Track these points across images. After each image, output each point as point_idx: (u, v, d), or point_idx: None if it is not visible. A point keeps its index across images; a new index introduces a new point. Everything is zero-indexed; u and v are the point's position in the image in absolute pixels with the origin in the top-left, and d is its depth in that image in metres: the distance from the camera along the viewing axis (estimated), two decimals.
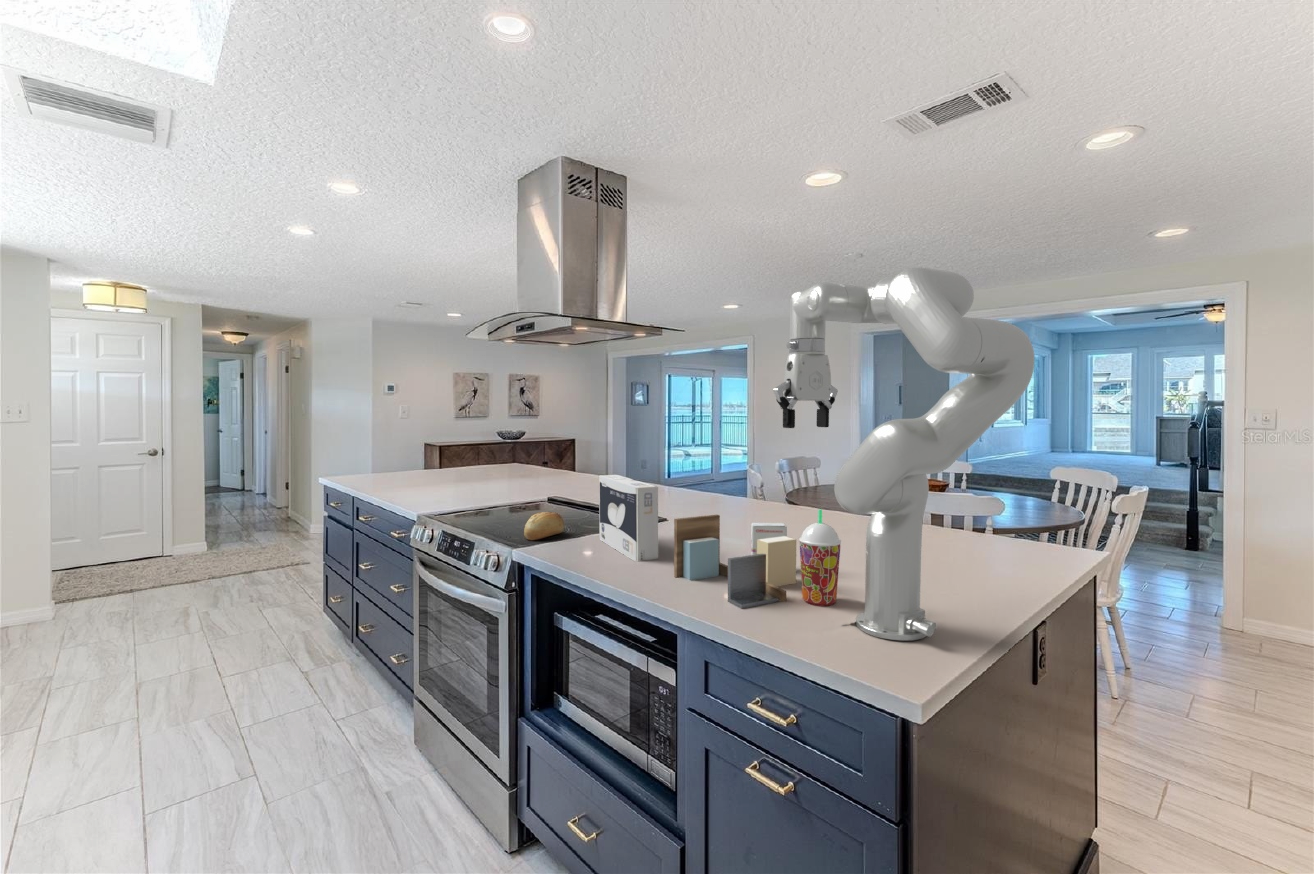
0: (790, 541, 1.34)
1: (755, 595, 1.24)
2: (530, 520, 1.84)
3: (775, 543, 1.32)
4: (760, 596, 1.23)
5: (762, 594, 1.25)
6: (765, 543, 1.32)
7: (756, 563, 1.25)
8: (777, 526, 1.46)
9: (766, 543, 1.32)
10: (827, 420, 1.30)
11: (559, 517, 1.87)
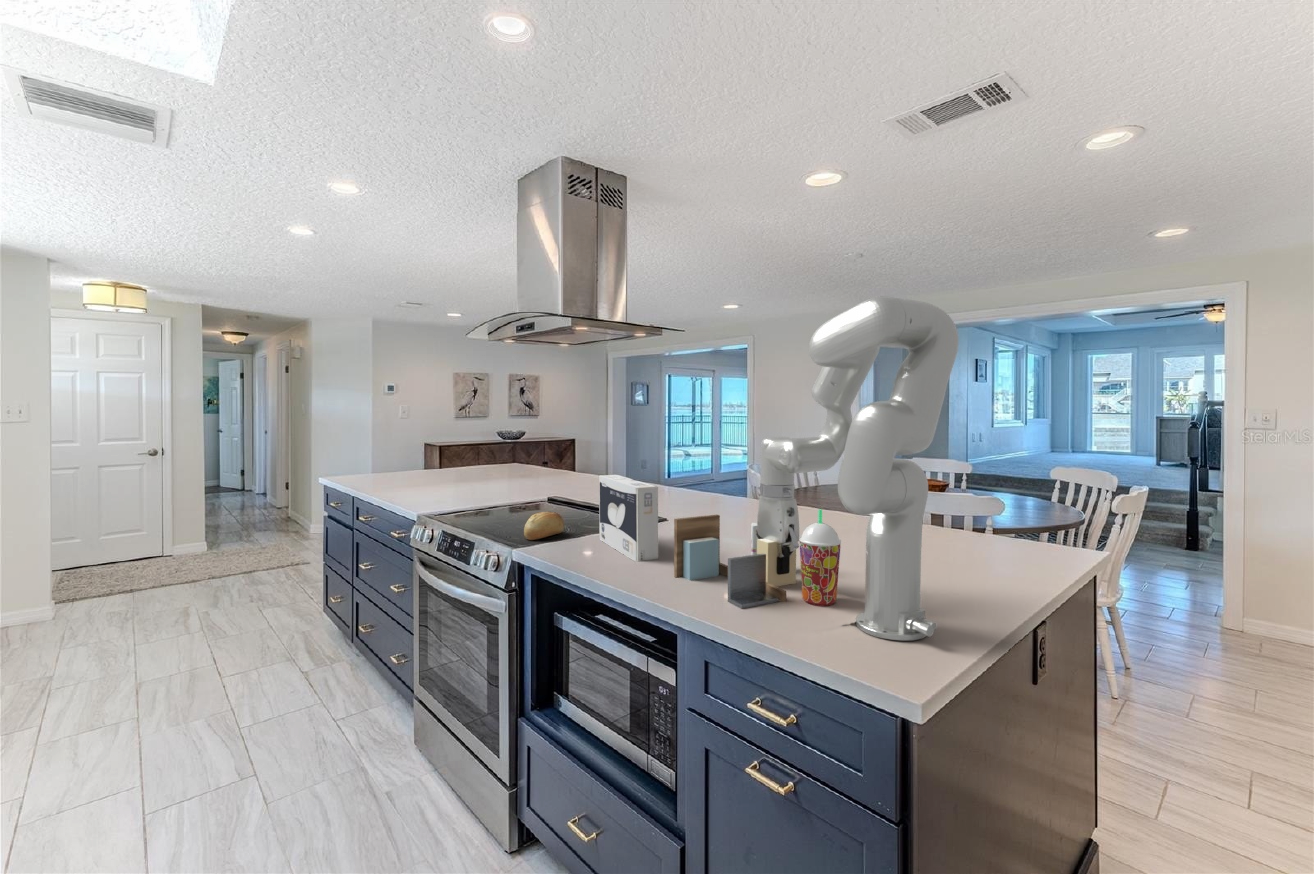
0: None
1: (755, 595, 1.24)
2: (530, 520, 1.84)
3: (775, 543, 1.32)
4: (760, 596, 1.23)
5: (762, 594, 1.25)
6: (765, 543, 1.32)
7: (756, 563, 1.25)
8: None
9: (766, 543, 1.32)
10: None
11: (559, 517, 1.87)
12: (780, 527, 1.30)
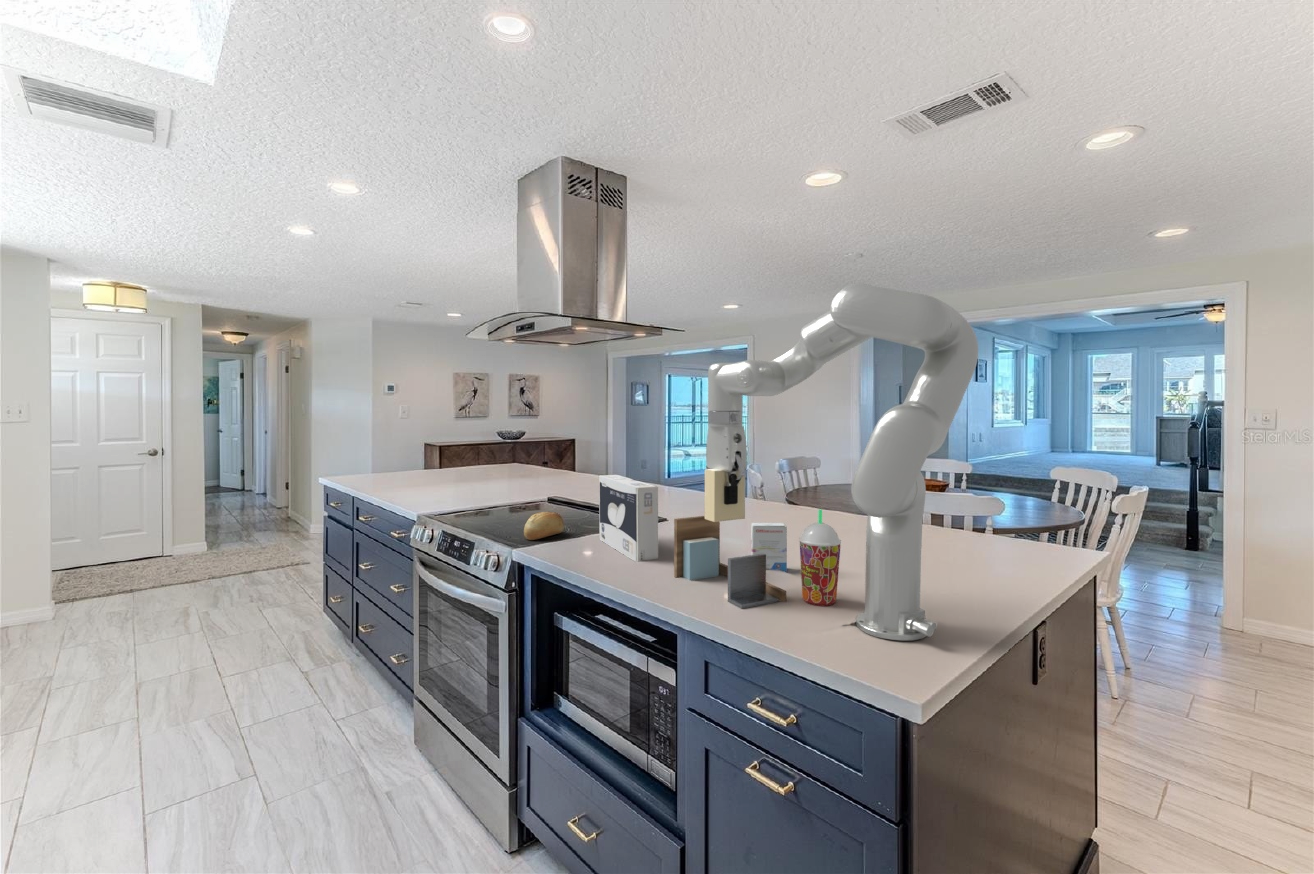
0: None
1: (755, 595, 1.24)
2: (530, 520, 1.84)
3: (722, 472, 1.28)
4: (760, 596, 1.23)
5: (762, 594, 1.25)
6: (712, 472, 1.28)
7: (756, 563, 1.25)
8: (777, 526, 1.46)
9: (713, 471, 1.28)
10: None
11: (559, 517, 1.87)
12: (726, 454, 1.26)
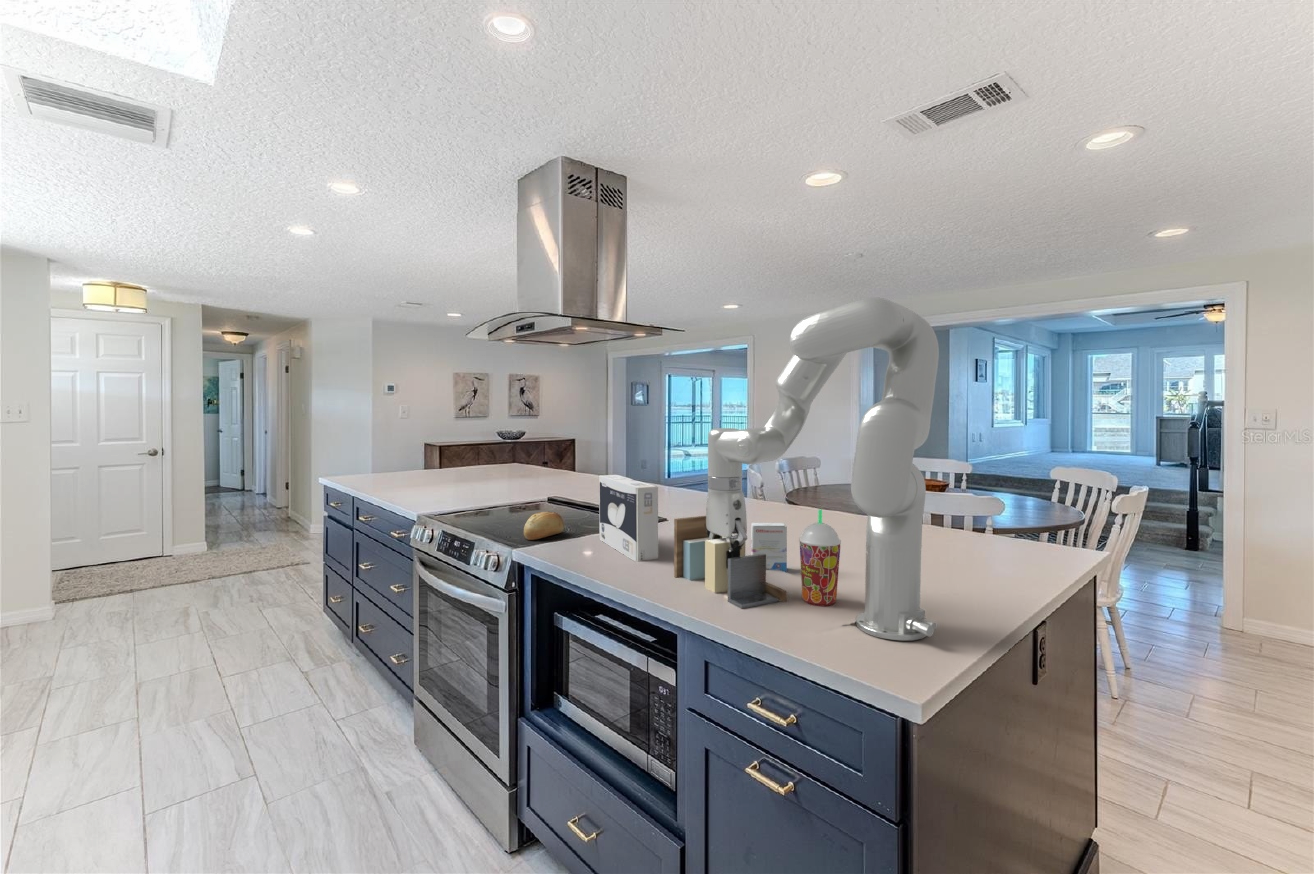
0: None
1: (755, 595, 1.24)
2: (530, 520, 1.84)
3: (722, 544, 1.29)
4: (760, 596, 1.23)
5: (762, 594, 1.25)
6: (712, 544, 1.29)
7: (756, 563, 1.25)
8: (777, 526, 1.46)
9: (713, 544, 1.28)
10: None
11: (559, 517, 1.87)
12: (726, 520, 1.27)
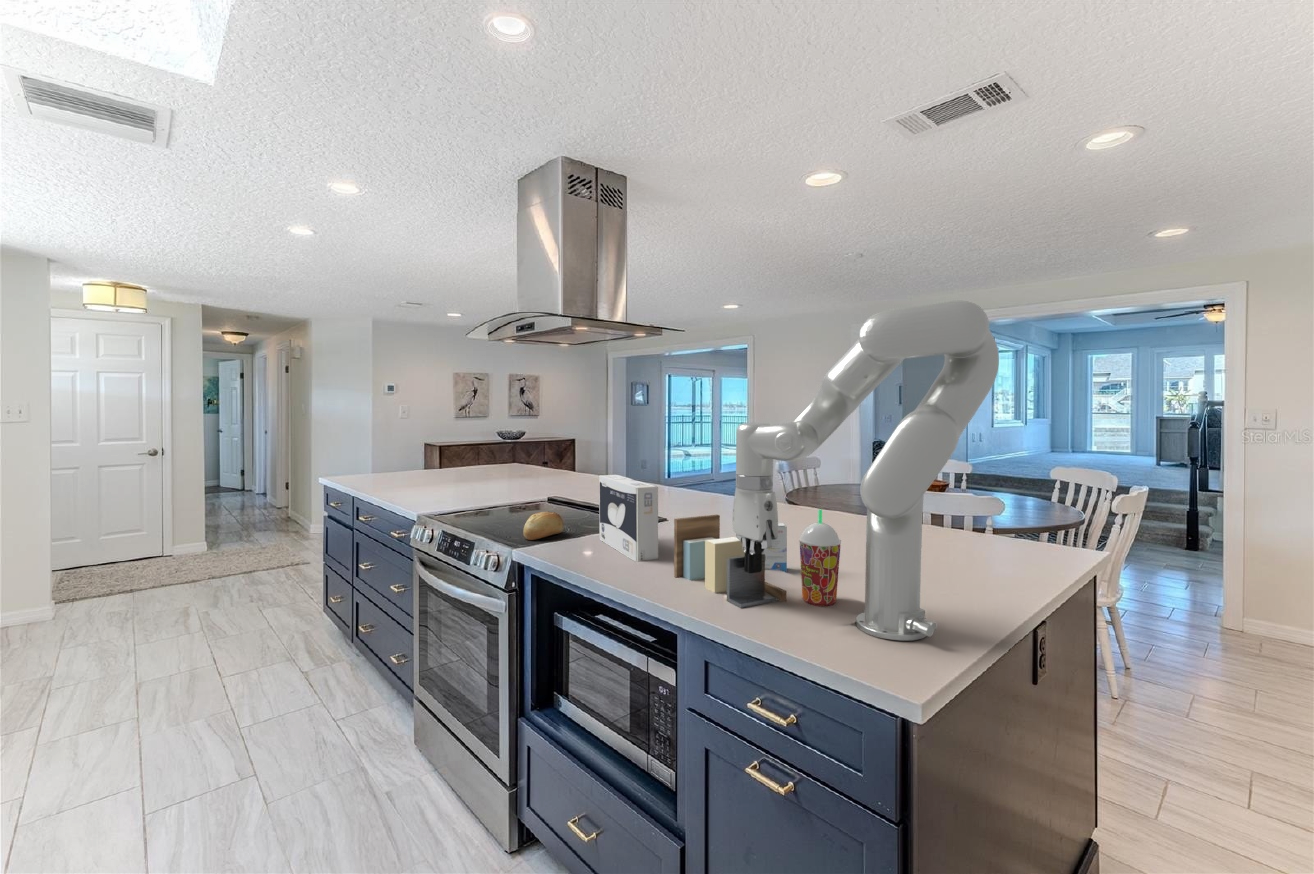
0: (739, 542, 1.31)
1: (754, 594, 1.25)
2: (529, 520, 1.84)
3: (722, 544, 1.29)
4: (759, 595, 1.24)
5: (761, 593, 1.25)
6: (712, 544, 1.29)
7: None
8: None
9: (713, 544, 1.28)
10: None
11: (558, 517, 1.87)
12: (757, 523, 1.17)
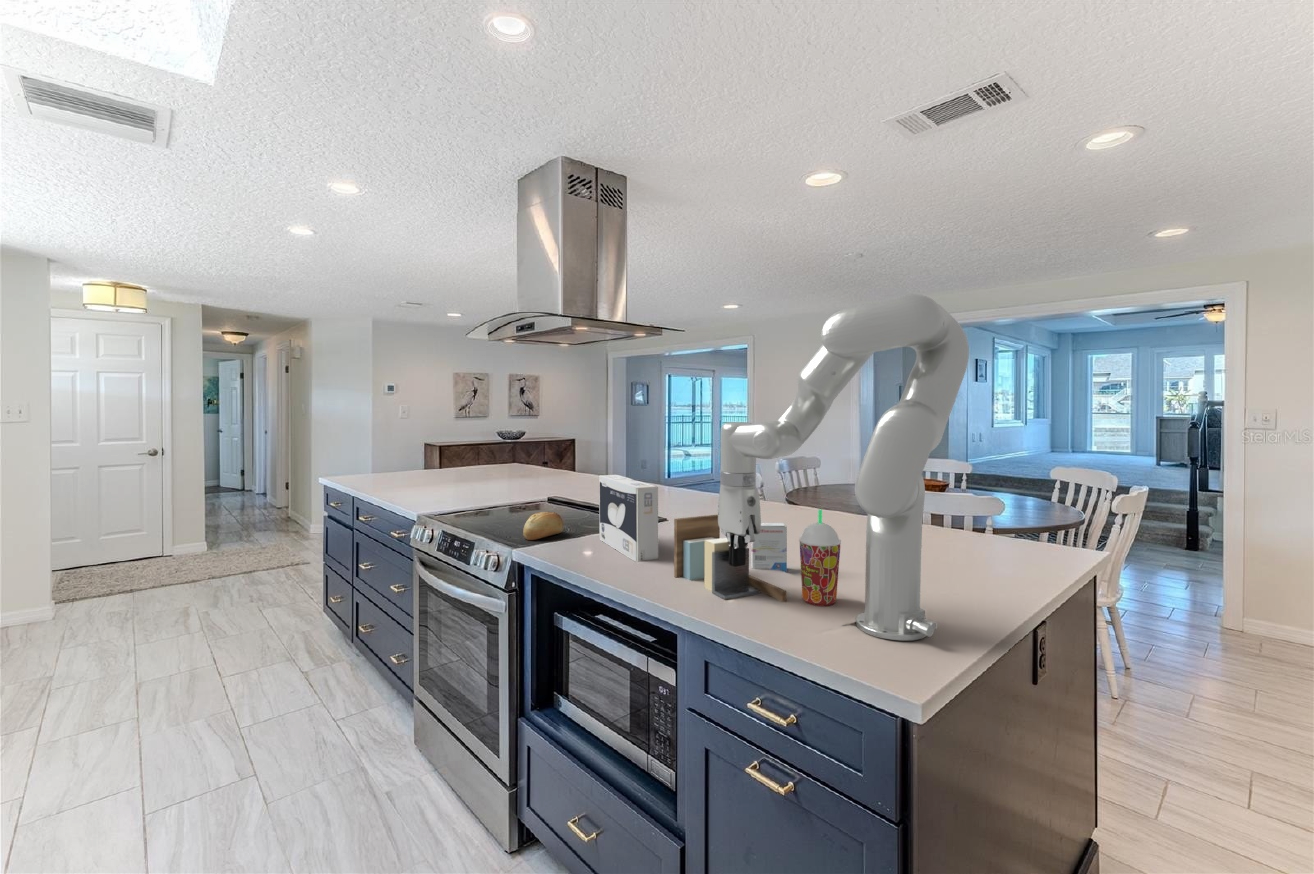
0: None
1: (739, 587, 1.30)
2: (529, 520, 1.84)
3: (722, 544, 1.29)
4: (743, 588, 1.29)
5: (745, 586, 1.30)
6: (712, 544, 1.29)
7: None
8: (777, 526, 1.46)
9: (712, 544, 1.29)
10: None
11: (558, 517, 1.87)
12: (740, 518, 1.22)
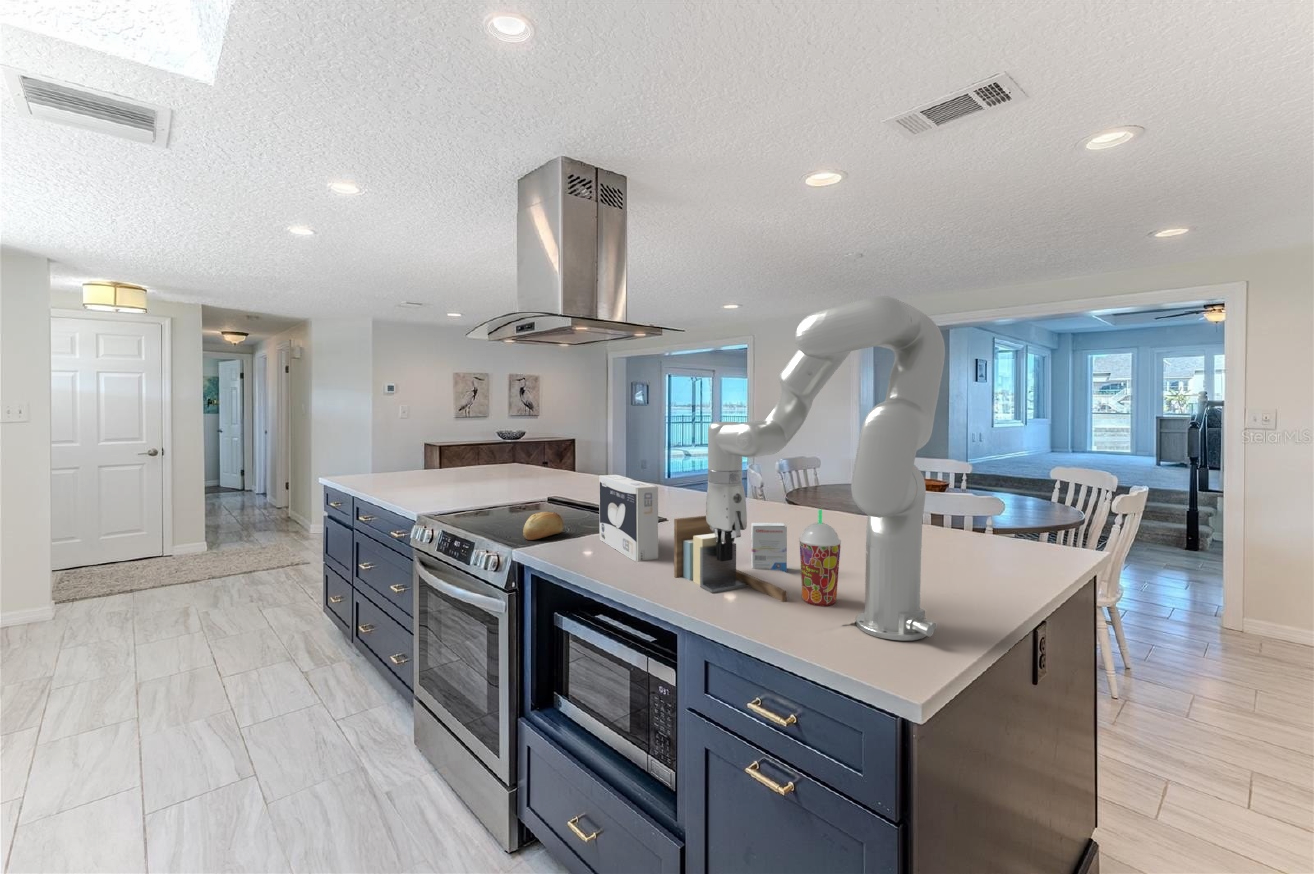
0: None
1: (726, 581, 1.34)
2: (529, 520, 1.84)
3: (710, 539, 1.33)
4: (730, 582, 1.33)
5: (732, 580, 1.35)
6: (700, 539, 1.33)
7: None
8: (777, 526, 1.46)
9: (701, 539, 1.33)
10: None
11: (558, 517, 1.87)
12: (726, 514, 1.26)
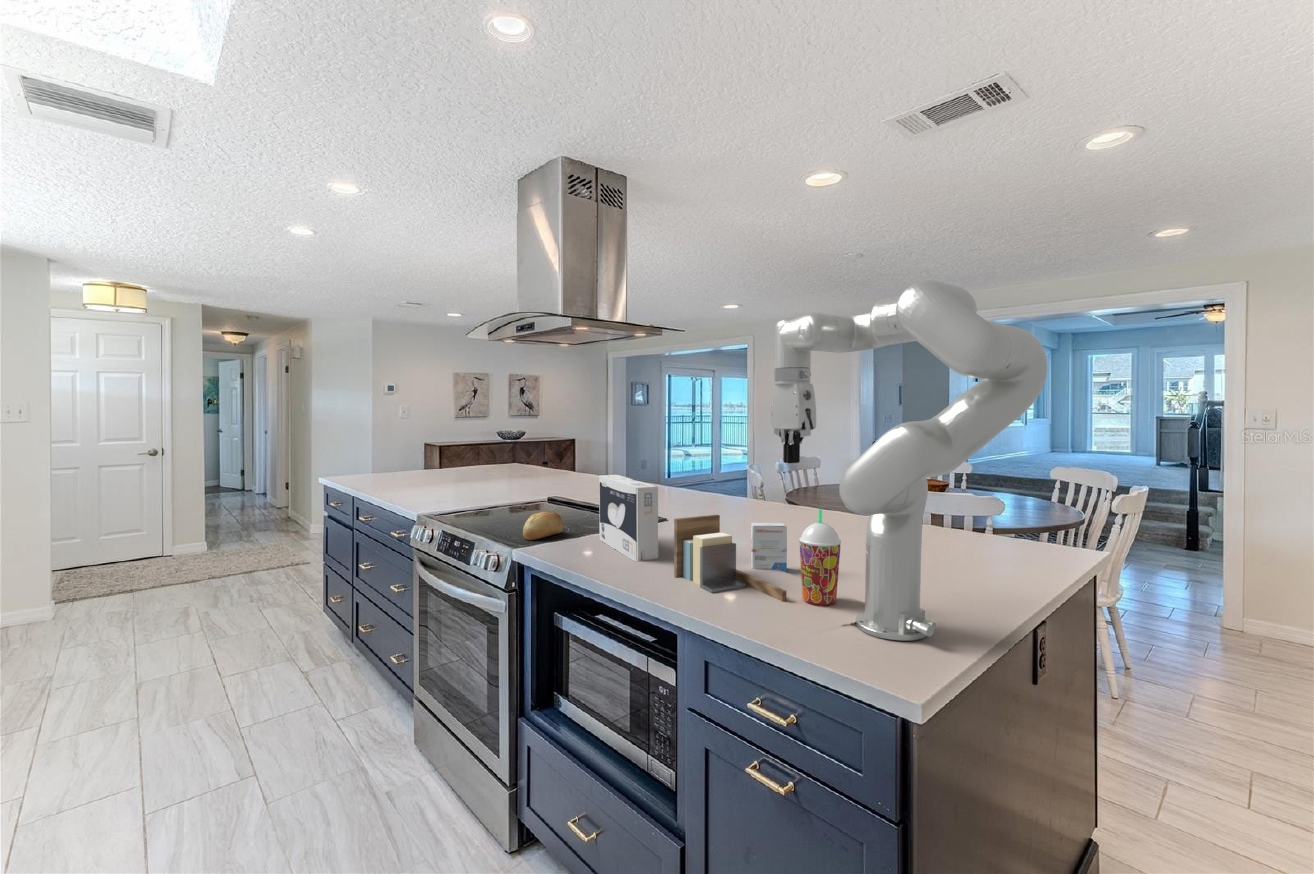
0: (725, 537, 1.35)
1: (726, 581, 1.34)
2: (529, 520, 1.84)
3: (710, 539, 1.33)
4: (730, 582, 1.33)
5: (732, 580, 1.35)
6: (700, 539, 1.33)
7: (727, 552, 1.34)
8: (777, 526, 1.46)
9: (700, 539, 1.33)
10: None
11: (558, 517, 1.88)
12: (796, 411, 1.23)
